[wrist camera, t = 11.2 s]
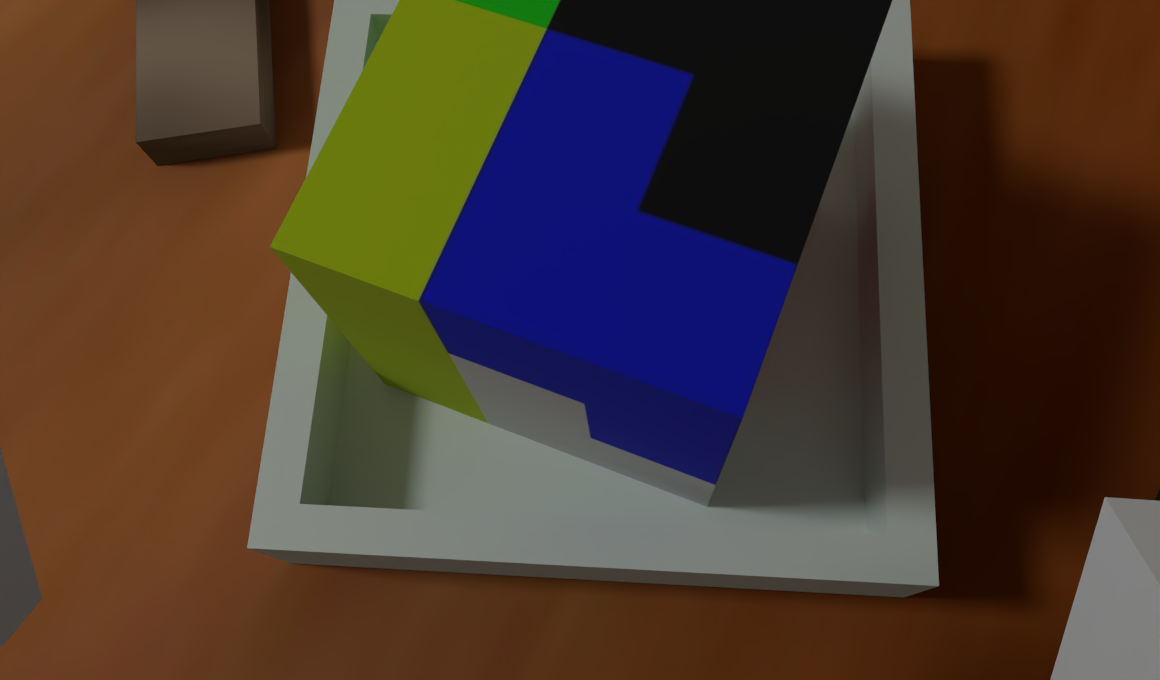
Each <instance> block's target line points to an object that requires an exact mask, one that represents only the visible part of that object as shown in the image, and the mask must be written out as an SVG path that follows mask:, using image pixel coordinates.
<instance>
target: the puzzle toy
mask: <svg viewBox="0 0 1160 680" xmlns="http://www.w3.org/2000/svg"><path fill="white" fill-rule="evenodd" d="M891 3H892V0H399V2H398V4H397V6H396V8H395V10H394V12H393V14H392V15H391V17H390V19H389V21H388V23H387V25H386V27H385V29H384V31H383V33H382V34H381V36H380V38H379V40H378V42H377V44H376V46H375V48H374V50H373V52H372V53H371V55H370V57H369V59H368V61H367V63H366V65H365V67H364V69H363V71H362V72H361V74H360V76H359V78H358V80H357V82H356V84H355V86H354V88H353V90H352V91H351V93H350V95H349V97H348V99H347V101H346V103H345V105H344V107H343V109H342V110H341V112H340V114H339V116H338V118H337V120H336V122H335V124H334V126H333V128H332V130H331V131H330V133H329V135H328V137H327V139H326V141H325V143H324V145H323V147H322V149H321V150H320V152H319V154H318V156H317V158H316V160H315V162H314V164H313V166H312V168H311V169H310V171H309V173H308V175H307V177H306V179H305V181H304V183H303V185H302V187H301V188H300V190H299V192H298V194H297V196H296V198H295V200H294V202H293V204H292V206H291V207H290V209H289V211H288V213H287V215H286V217H285V219H284V221H283V223H282V225H281V226H280V228H279V230H278V232H277V234H276V236H275V238H274V240H273V242H272V244H271V245H270V248H271V249H272V250H273V251H274V252H275V254H276V255H277V256H278V257H279V258H280V260H281V261H282V262H283V263H284V264H285V266H286V267H287V268H288V269H289V270H290V272H291V273H292V274H293V275H294V276H295V277H296V279H297V280H298V281H299V282H300V283H301V285H302V286H303V287H304V288H305V289H306V291H307V292H308V293H309V294H310V295H311V297H312V298H313V299H314V300H315V301H316V303H317V304H318V305H319V306H320V307H321V308H322V310H323V311H324V312H325V313H326V314H327V316H328V317H329V318H330V319H331V320H332V322H333V323H334V324H335V325H336V326H337V328H338V329H339V330H340V331H341V332H342V334H343V335H344V336H345V337H346V338H347V339H348V341H349V342H350V343H351V344H352V345H353V347H354V348H355V349H356V350H357V351H358V353H359V354H360V355H361V356H362V357H363V359H364V360H365V361H366V362H367V363H368V364H369V366H370V367H371V368H372V369H373V370H374V372H375V373H376V374H377V375H378V376H379V378H380V379H381V380H382V381H383V382H384V384H387V385H389V386H392V387H394V388H397V389H400V390H402V391H405V392H407V393H410V394H413V395H415V396H418V397H421V398H423V399H426V400H428V401H431V402H434V403H436V404H439V405H441V406H444V407H447V408H449V409H452V410H455V411H457V412H460V413H462V414H465V415H468V416H470V417H473V418H476V419H478V420H481V421H483V422H486V423H489V424H491V425H494V426H496V427H499V428H502V429H504V430H507V431H510V432H512V433H515V434H517V435H520V436H523V437H525V438H528V439H530V440H533V441H536V442H538V443H541V444H544V445H546V446H549V447H551V448H554V449H557V450H559V451H562V452H564V453H567V454H570V455H572V456H575V457H578V458H580V459H583V460H585V461H588V462H591V463H593V464H596V465H599V466H601V467H604V468H606V469H609V470H612V471H614V472H617V473H619V474H622V475H625V476H627V477H630V478H633V479H635V480H638V481H640V482H643V483H646V484H648V485H651V486H653V487H656V488H659V489H661V490H664V491H667V492H669V493H672V494H674V495H677V496H680V497H682V498H685V499H687V500H690V501H693V502H695V503H698V504H701V505H703V506H706V507H707V506H708V503H709V501H710V498H711V496H712V493H713V491H714V488H715V486H716V483H717V481H718V478H719V476H720V473H721V471H722V468H723V466H724V463H725V461H726V458H727V456H728V453H729V451H730V449H731V446H732V444H733V441H734V439H735V436H736V434H737V431H738V429H739V426H740V424H741V421H742V419H743V416H744V413H745V410H746V408H747V405H748V402H749V399H750V396H751V394H752V391H753V388H754V385H755V382H756V380H757V377H758V374H759V371H760V368H761V366H762V363H763V360H764V357H765V355H766V352H767V349H768V346H769V343H770V341H771V338H772V335H773V332H774V329H775V327H776V324H777V321H778V318H779V316H780V313H781V310H782V307H783V304H784V302H785V299H786V296H787V293H788V290H789V288H790V285H791V282H792V279H793V276H794V274H795V271H796V268H797V265H798V263H799V260H800V257H801V254H802V251H803V249H804V246H805V243H806V240H807V237H808V235H809V232H810V229H811V226H812V223H813V221H814V218H815V215H816V212H817V210H818V207H819V204H820V201H821V198H822V196H823V193H824V190H825V187H826V184H827V182H828V179H829V176H830V173H831V170H832V168H833V165H834V162H835V159H836V157H837V154H838V151H839V148H840V145H841V143H842V140H843V137H844V134H845V131H846V129H847V126H848V123H849V120H850V117H851V115H852V112H853V109H854V106H855V104H856V101H857V98H858V95H859V92H860V90H861V87H862V84H863V81H864V78H865V76H866V73H867V70H868V67H869V64H870V62H871V59H872V56H873V53H874V51H875V48H876V45H877V42H878V39H879V37H880V34H881V31H882V28H883V25H884V23H885V20H886V17H887V14H888V11H889V9H890V6H891Z"/></svg>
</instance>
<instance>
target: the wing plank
mask: <svg viewBox="0 0 1160 680" xmlns="http://www.w3.org/2000/svg"><path fill="white" fill-rule="evenodd" d="M136 143H137V144H138V145H139V146H140V147H141V148H142V149H143V150H144V152H145V153H146V154H147V155H148V156H149V157H150V158H151V159H152V160H153V161H154V162H155V164H156V165H157V166H159V165H166V164H173V163H179V162H186V161H193V160H199V159H206V158H213V157H219V156H226V155H233V154H240V153H246V152H253V151H260V150H266V149H273V148H276V131H275V110H274V89H273V68H272V48H271V27H270V6H269V0H136Z"/></svg>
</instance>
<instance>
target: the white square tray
mask: <svg viewBox="0 0 1160 680" xmlns="http://www.w3.org/2000/svg"><path fill="white" fill-rule="evenodd" d="M398 2H399V0H334V6H333V12H332V19H331V25H330V31H329V38H328V44H327V50H326V56H325V63H324V69H323V75H322V82H321V88H320V94H319V100H318V107H317V113H316V119H315V125H314V132H313V138H312V144H311V151H310V157H309V163H308V169H307V175H308V173H309V171H310V169H311V168H312V166H313V164H314V162H315V160H316V158H317V156H318V154H319V152H320V150H321V149H322V147H323V145H324V143H325V141H326V139H327V137H328V135H329V133H330V131H331V130H332V128H333V126H334V124H335V122H336V120H337V118H338V116H339V114H340V112H341V110H342V109H343V107H344V105H345V103H346V101H347V99H348V97H349V95H350V93H351V91H352V90H353V88H354V86H355V84H356V82H357V80H358V78H359V76H360V74H361V72H362V71H363V69H364V67H365V65H366V63H367V61H368V59H369V57H370V55H371V53H372V52H373V50H374V48H375V46H376V44H377V42H378V40H379V38H380V36H381V34H382V33H383V31H384V29H385V27H386V25H387V23H388V21H389V19H390V17H391V15H392V14H393V12H394V10H395V8H396V6H397V4H398ZM306 177H307V176H306ZM247 548H248V549H251V550H254V551H257V552H260V553H263V554H265V555H268V556H271V557H274V558H277V559H280V560H283V561H286V562H288V563H295V564H313V565H331V566H349V567H367V568H385V569H402V570H420V571H438V572H456V573H474V574H492V575H510V576H528V577H546V578H564V579H582V580H600V581H618V582H636V583H654V584H672V585H690V586H708V587H726V588H744V589H762V590H780V591H798V592H816V593H834V594H852V595H870V596H888V597H907V596H910V595H913V594H916V593H919V592H922V591H925V590H928V589H932V588H935V587H938V586H939V574H938V554H937V534H936V514H935V494H934V474H933V454H932V434H931V414H930V394H929V374H928V354H927V334H926V314H925V294H924V274H923V254H922V234H921V214H920V194H919V174H918V154H917V134H916V114H915V94H914V74H913V54H912V34H911V13H910V0H892V3H891V6H890V9H889V11H888V14H887V17H886V20H885V23H884V25H883V28H882V31H881V34H880V37H879V39H878V42H877V45H876V48H875V51H874V53H873V56H872V59H871V62H870V64H869V67H868V70H867V73H866V76H865V78H864V81H863V84H862V87H861V90H860V92H859V95H858V98H857V101H856V104H855V106H854V109H853V112H852V115H851V117H850V120H849V123H848V126H847V129H846V131H845V134H844V137H843V140H842V143H841V145H840V148H839V151H838V154H837V157H836V159H835V162H834V165H833V168H832V170H831V173H830V176H829V179H828V182H827V184H826V187H825V190H824V193H823V196H822V198H821V201H820V204H819V207H818V210H817V212H816V215H815V218H814V221H813V223H812V226H811V229H810V232H809V235H808V237H807V240H806V243H805V246H804V249H803V251H802V254H801V257H800V260H799V263H798V265H797V268H796V271H795V274H794V276H793V279H792V282H791V285H790V288H789V290H788V293H787V296H786V299H785V302H784V304H783V307H782V310H781V313H780V316H779V318H778V321H777V324H776V327H775V329H774V332H773V335H772V338H771V341H770V343H769V346H768V349H767V352H766V355H765V357H764V360H763V363H762V366H761V368H760V371H759V374H758V377H757V380H756V382H755V385H754V388H753V391H752V394H751V396H750V399H749V402H748V405H747V408H746V410H745V413H744V416H743V419H742V421H741V424H740V426H739V429H738V431H737V434H736V436H735V439H734V441H733V444H732V446H731V449H730V451H729V453H728V456H727V458H726V461H725V463H724V466H723V468H722V471H721V473H720V476H719V478H718V481H717V483H716V486H715V488H714V491H713V493H712V496H711V498H710V501H709V503H708V506H707V507H706V506H703V505H701V504H698V503H695V502H693V501H690V500H687V499H685V498H682V497H680V496H677V495H674V494H672V493H669V492H667V491H664V490H661V489H659V488H656V487H653V486H651V485H648V484H646V483H643V482H640V481H638V480H635V479H633V478H630V477H627V476H625V475H622V474H619V473H617V472H614V471H612V470H609V469H606V468H604V467H601V466H599V465H596V464H593V463H591V462H588V461H585V460H583V459H580V458H578V457H575V456H572V455H570V454H567V453H564V452H562V451H559V450H557V449H554V448H551V447H549V446H546V445H544V444H541V443H538V442H536V441H533V440H530V439H528V438H525V437H523V436H520V435H517V434H515V433H512V432H510V431H507V430H504V429H502V428H499V427H496V426H494V425H491V424H489V423H486V422H483V421H481V420H478V419H476V418H473V417H470V416H468V415H465V414H462V413H460V412H457V411H455V410H452V409H449V408H447V407H444V406H441V405H439V404H436V403H434V402H431V401H428V400H426V399H423V398H421V397H418V396H415V395H413V394H410V393H407V392H405V391H402V390H400V389H397V388H394V387H392V386H389V385H387V384H384V382H383V381H382V380H381V379H380V378H379V376H378V375H377V374H376V373H375V372H374V370H373V369H372V368H371V367H370V366H369V364H368V363H367V362H366V361H365V360H364V359H363V357H362V356H361V355H360V354H359V353H358V351H357V350H356V349H355V348H354V347H353V345H352V344H351V343H350V342H349V341H348V339H347V338H346V337H345V336H344V335H343V334H342V332H341V331H340V330H339V329H338V328H337V326H336V325H335V324H334V323H333V322H332V320H331V319H330V318H329V317H328V316H327V314H326V313H325V312H324V311H323V310H322V308H321V307H320V306H319V305H318V304H317V303H316V301H315V300H314V299H313V298H312V297H311V295H310V294H309V293H308V292H307V291H306V289H305V288H304V287H303V286H302V285H301V283H300V282H299V281H298V280H297V279H296V277H295V276H294V275H293V274H292V273H291V276H290V282H289V289H288V295H287V301H286V308H285V314H284V320H283V326H282V333H281V339H280V345H279V351H278V358H277V364H276V370H275V377H274V383H273V389H272V395H271V402H270V408H269V414H268V421H267V427H266V433H265V439H264V446H263V452H262V458H261V464H260V471H259V477H258V483H257V490H256V496H255V502H254V508H253V515H252V521H251V527H250V534H249V540H248V546H247Z"/></svg>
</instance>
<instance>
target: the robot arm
mask: <svg viewBox="0 0 1160 680" xmlns="http://www.w3.org/2000/svg"><path fill="white" fill-rule="evenodd" d="M41 599H42V597H41V593H40V589H39V586H38V582H37V579H36V575H35V571H34V568H33V564H32V561H31V557H30V553H29V550H28V546H27V543H26V539H25V535H24V532H23V528H22V525H21V521H20V517H19V514H18V510H17V506H16V503H15V499H14V496H13V492H12V488H11V485H10V481H9V478H8V474H7V470H6V467H5V463H4V460H3V456H2V452H1V449H0V648H1V647H2V646H3V644H4V643H5V642H6V641H7V640H8V638H9V637H10V636H11V635H12V634H13V633H14V631H15V630H16V629H17V628H18V627H19V625H20V624H21V623H22V622H23V621H24V619H25V618H26V617H27V616H28V615H29V614H30V612H31V611H32V610H33V609H34V608H35V606H36V605H37V604H38V603H39V602H40V600H41ZM1050 680H1160V490H1159V492H1158V495H1157V497H1156V499H1155V500H1140V499H1126V498H1111V497H1105V498H1104V501H1103V505H1102V508H1101V512H1100V515H1099V518H1098V522H1097V525H1096V528H1095V532H1094V535H1093V538H1092V542H1091V545H1090V548H1089V552H1088V555H1087V558H1086V562H1085V565H1084V569H1083V572H1082V575H1081V579H1080V582H1079V585H1078V589H1077V592H1076V595H1075V599H1074V602H1073V605H1072V609H1071V612H1070V615H1069V619H1068V622H1067V626H1066V629H1065V632H1064V636H1063V639H1062V642H1061V646H1060V649H1059V652H1058V656H1057V659H1056V662H1055V666H1054V669H1053V673H1052V676H1051V679H1050Z"/></svg>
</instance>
